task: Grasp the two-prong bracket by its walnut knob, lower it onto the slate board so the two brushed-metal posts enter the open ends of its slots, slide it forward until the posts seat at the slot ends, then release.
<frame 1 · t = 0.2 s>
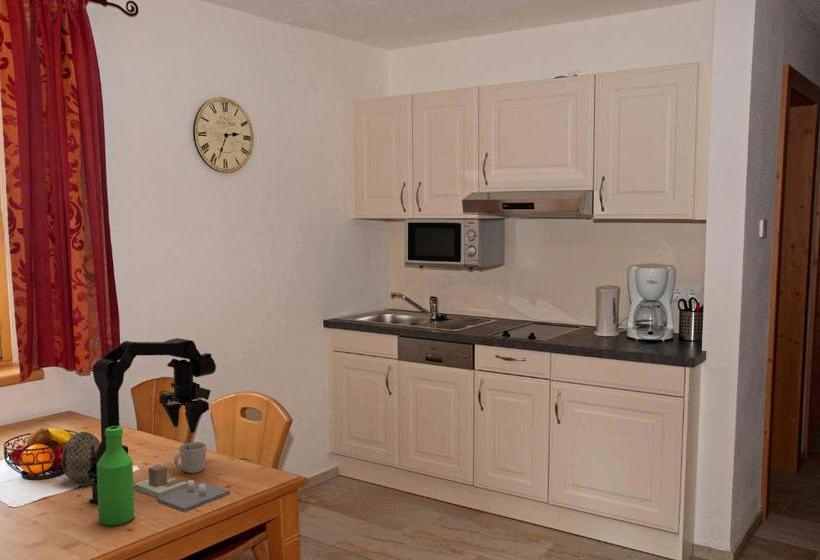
hand: (184, 429, 233), 14 cm above the table, fingers open, 9 cm apart
two-prong bracket: (161, 488, 223), on the table
decorative egg: (83, 482, 228), on the table
cup: (189, 472, 237), on the table
slate board: (194, 497, 216), on the table
bottle: (116, 521, 200), on the table
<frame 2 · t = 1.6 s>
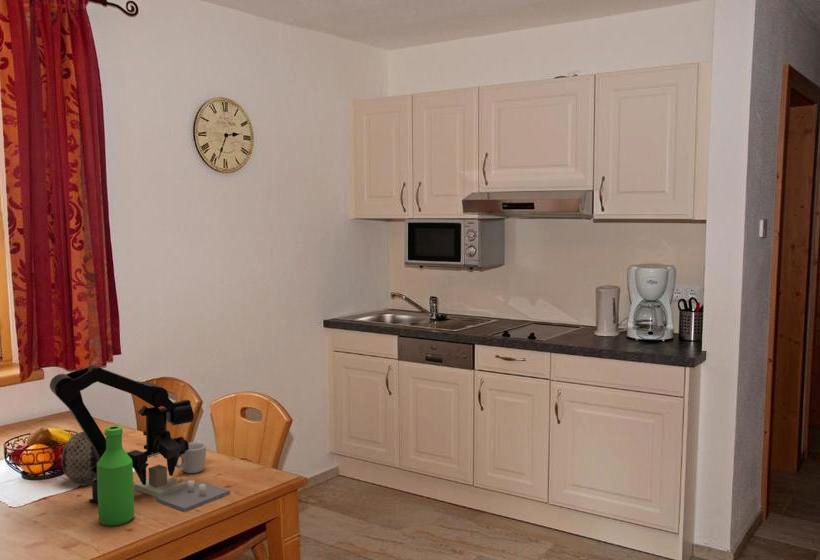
hand: (157, 480, 222), 3 cm above the table, fingers open, 9 cm apart
nothing on the table moved.
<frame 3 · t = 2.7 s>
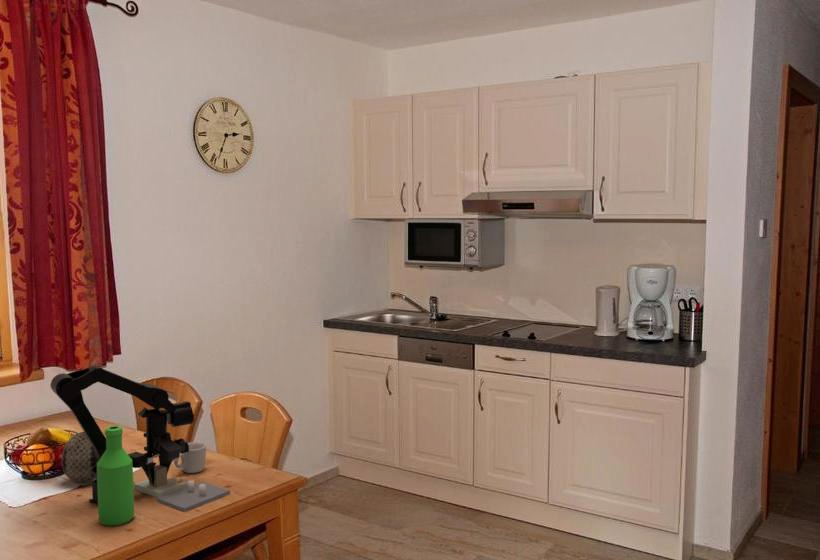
hand: (158, 481, 222), 2 cm above the table, fingers closed on two-prong bracket, 4 cm apart
two-prong bracket: (161, 488, 223), on the table, touching gripper
everything else where it was.
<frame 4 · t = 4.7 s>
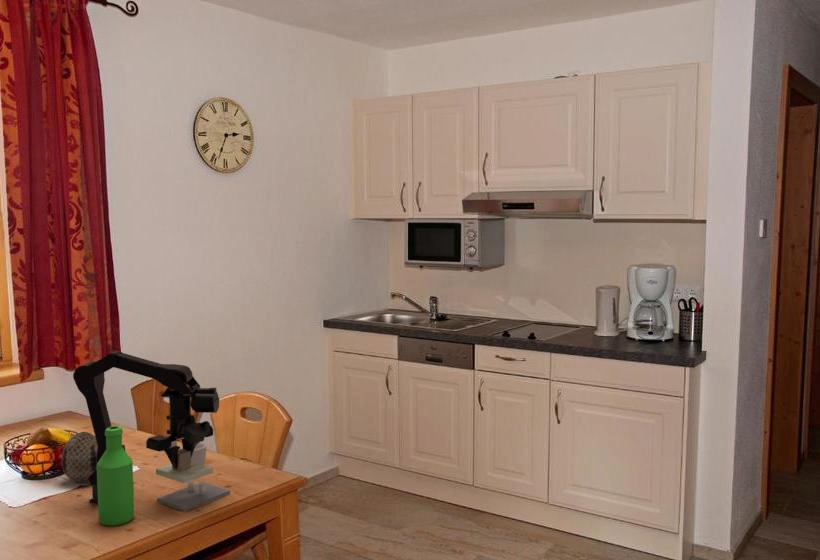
hand: (181, 466, 212), 10 cm above the table, fingers closed on two-prong bracket, 4 cm apart
two-prong bracket: (184, 473, 213), point 8 cm above the table, touching gripper
everything else where it was.
when the fingers open (4 cm above the table, at t = 6.6 s): two-prong bracket stays where it is, resting on slate board.
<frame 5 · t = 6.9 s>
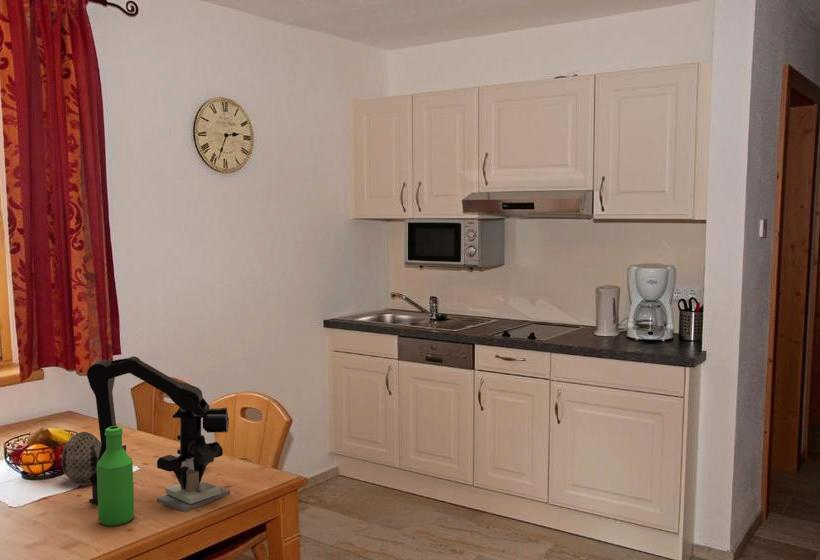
hand: (190, 486, 215), 4 cm above the table, fingers open, 5 cm apart
two-prong bracket: (193, 493, 215), point 1 cm above the table, touching gripper, slate board
everything else where it was.
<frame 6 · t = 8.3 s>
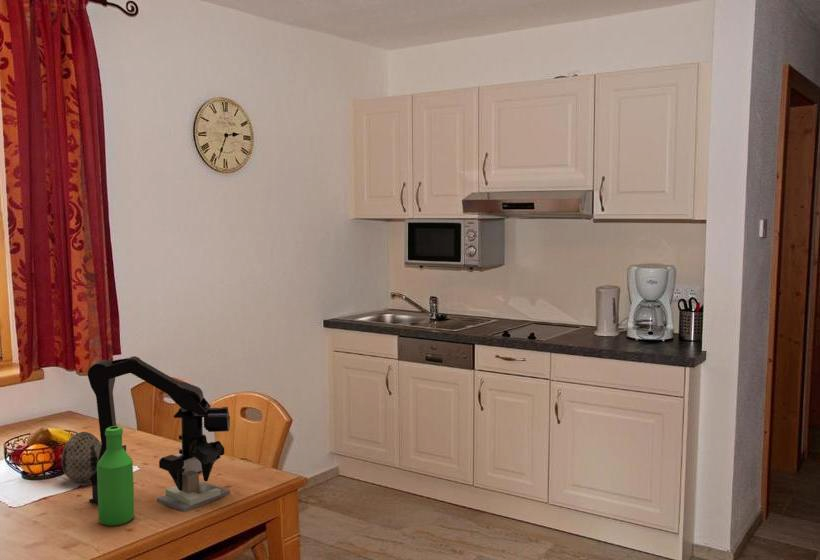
hand: (193, 485, 215), 4 cm above the table, fingers open, 9 cm apart
two-prong bracket: (193, 494, 215), point 1 cm above the table, touching slate board
everything else where it was.
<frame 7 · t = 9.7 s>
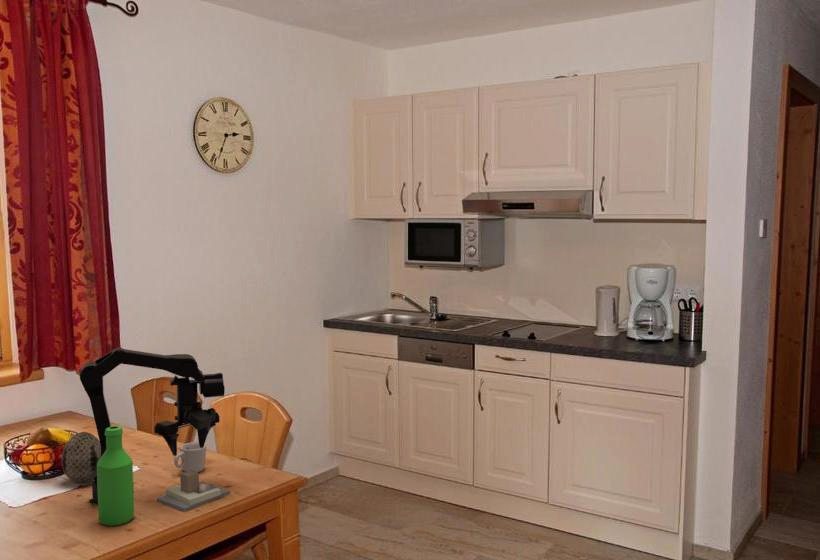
hand: (188, 451, 220), 12 cm above the table, fingers open, 9 cm apart
nothing on the table moved.
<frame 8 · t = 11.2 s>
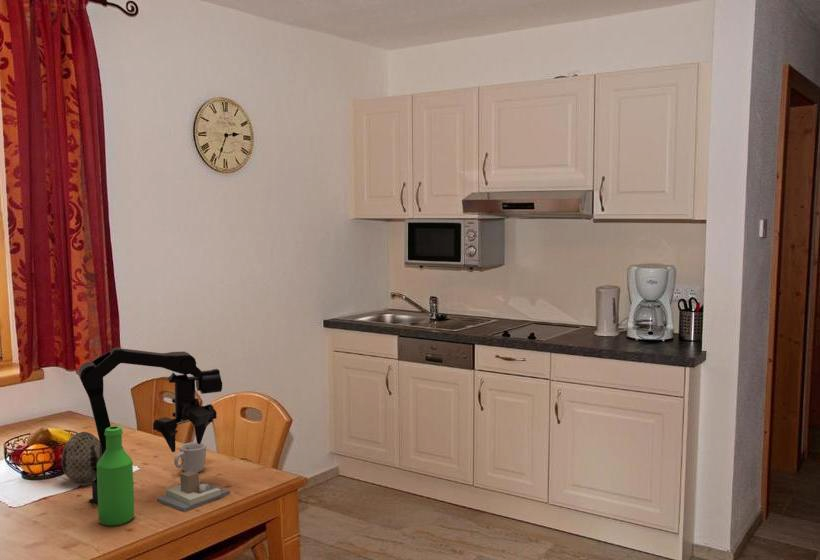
hand: (186, 447, 223), 12 cm above the table, fingers open, 9 cm apart
nothing on the table moved.
at the end: two-prong bracket 1.0 cm off-centre on the slate board, point 1.0 cm above the slate board's base; two-prong bracket tilted 0°; the gripper is holding nothing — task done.
